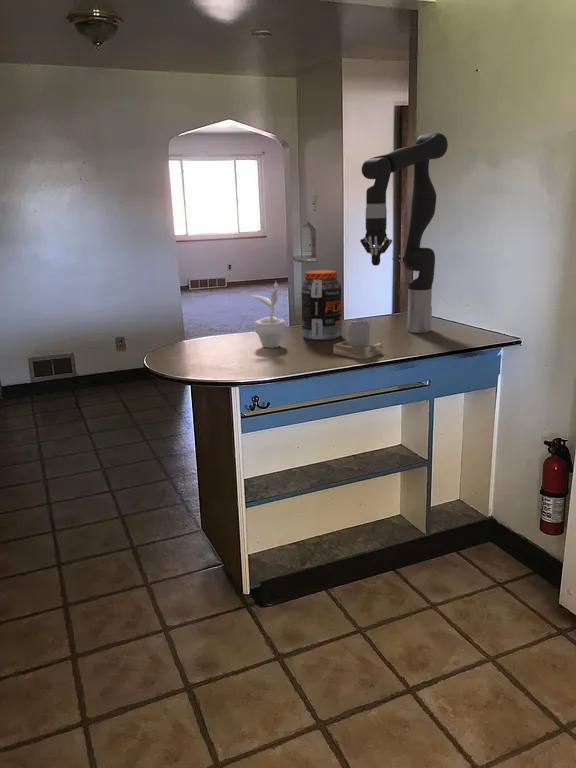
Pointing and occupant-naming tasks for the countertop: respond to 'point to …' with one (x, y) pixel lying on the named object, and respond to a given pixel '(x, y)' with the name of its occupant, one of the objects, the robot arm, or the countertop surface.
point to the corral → (356, 350)
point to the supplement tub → (321, 305)
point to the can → (359, 333)
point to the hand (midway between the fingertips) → (375, 265)
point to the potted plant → (270, 323)
